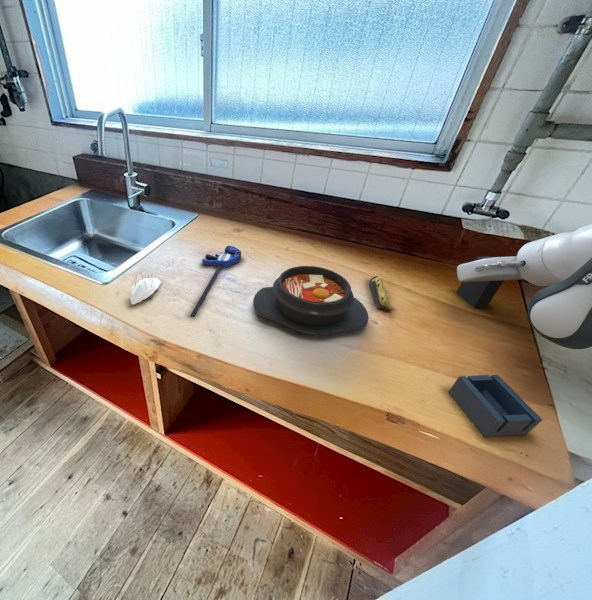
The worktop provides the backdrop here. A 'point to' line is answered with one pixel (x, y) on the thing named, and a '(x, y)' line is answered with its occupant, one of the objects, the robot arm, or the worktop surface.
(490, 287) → the back pad
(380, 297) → the yellow-green lumpy piece
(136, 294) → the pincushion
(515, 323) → the worktop surface
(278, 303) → the casserole
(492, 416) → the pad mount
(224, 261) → the bar clamp
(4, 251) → the worktop surface
